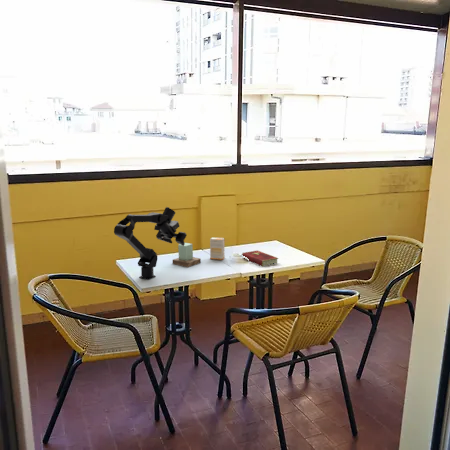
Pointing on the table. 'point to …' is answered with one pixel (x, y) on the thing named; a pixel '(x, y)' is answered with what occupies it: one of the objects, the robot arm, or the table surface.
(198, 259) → the walnut block
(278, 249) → the table surface
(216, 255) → the supplement box
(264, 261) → the hardcover book
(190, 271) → the table surface
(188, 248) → the sage block
